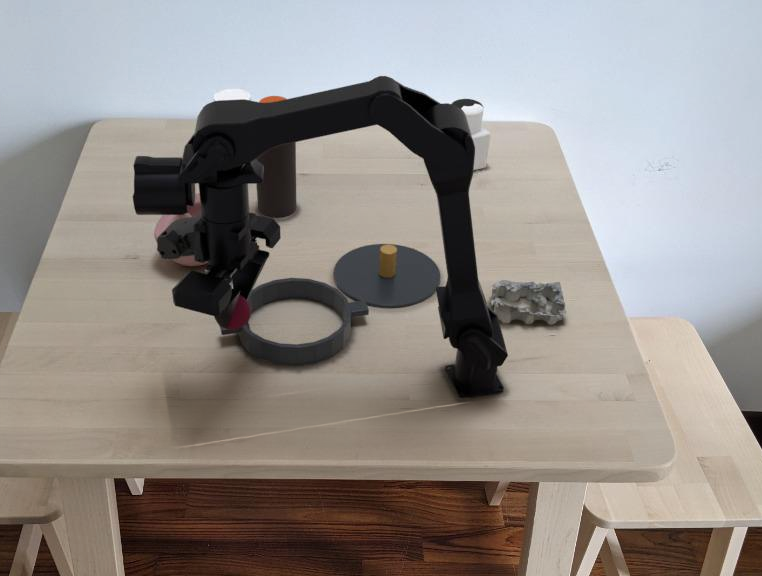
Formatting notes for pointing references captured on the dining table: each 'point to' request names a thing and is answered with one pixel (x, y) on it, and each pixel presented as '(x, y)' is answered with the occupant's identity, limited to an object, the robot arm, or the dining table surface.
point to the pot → (305, 351)
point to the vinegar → (277, 178)
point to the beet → (239, 314)
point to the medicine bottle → (476, 129)
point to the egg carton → (532, 293)
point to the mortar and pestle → (168, 219)
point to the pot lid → (387, 275)
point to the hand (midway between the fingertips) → (232, 315)
